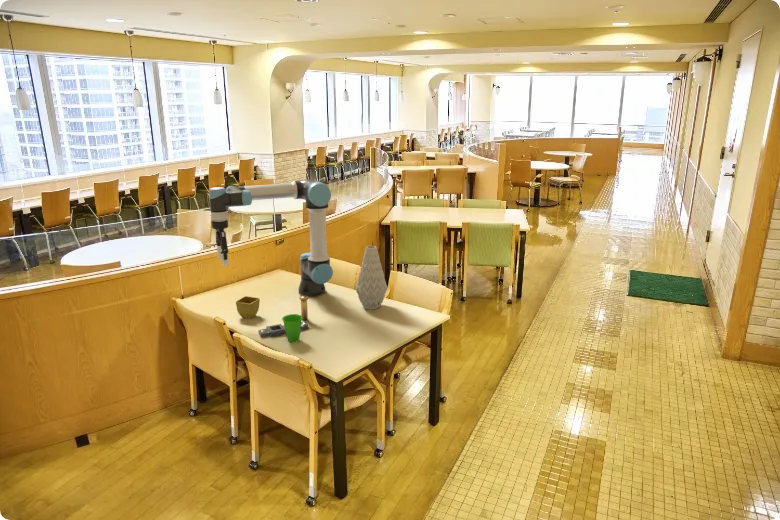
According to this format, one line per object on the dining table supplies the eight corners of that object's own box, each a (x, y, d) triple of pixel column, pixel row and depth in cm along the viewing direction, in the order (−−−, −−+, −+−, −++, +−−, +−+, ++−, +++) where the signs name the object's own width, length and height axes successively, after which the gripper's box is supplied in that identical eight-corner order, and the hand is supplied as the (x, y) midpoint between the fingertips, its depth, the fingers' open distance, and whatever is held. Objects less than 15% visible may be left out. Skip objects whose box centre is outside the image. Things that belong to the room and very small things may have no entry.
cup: (284, 336, 245) (283, 314, 242) (304, 335, 246) (303, 313, 243) (282, 344, 237) (281, 322, 233) (302, 344, 237) (301, 321, 234)
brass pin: (307, 317, 267) (306, 294, 263) (310, 320, 263) (309, 297, 260) (299, 318, 265) (298, 296, 262) (301, 321, 261) (300, 299, 258)
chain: (305, 323, 259) (305, 319, 258) (310, 329, 253) (310, 324, 252) (257, 332, 249) (257, 328, 248) (261, 338, 243) (261, 333, 242)
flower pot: (261, 314, 270) (260, 297, 267) (251, 320, 262) (250, 303, 259) (246, 312, 273) (245, 295, 270) (236, 318, 265) (235, 301, 262)
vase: (351, 310, 275) (350, 249, 266) (361, 299, 291) (360, 241, 281) (382, 314, 271) (382, 252, 262) (390, 302, 286) (391, 244, 277)
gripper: (207, 215, 264) (211, 256, 270) (215, 225, 243) (219, 270, 249) (223, 214, 267) (226, 254, 273) (232, 224, 246) (236, 268, 252)
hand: (223, 262), depth 261 cm, fingers open, 13 cm apart
